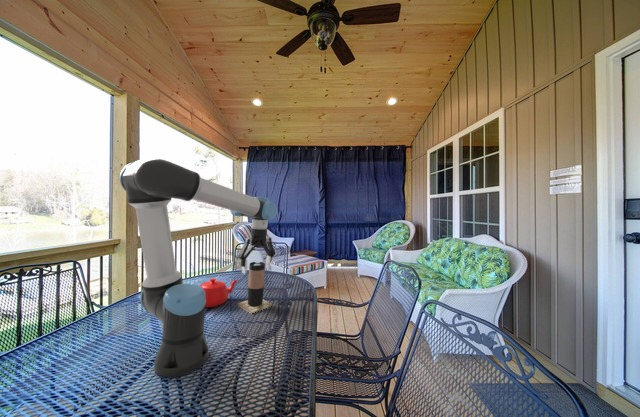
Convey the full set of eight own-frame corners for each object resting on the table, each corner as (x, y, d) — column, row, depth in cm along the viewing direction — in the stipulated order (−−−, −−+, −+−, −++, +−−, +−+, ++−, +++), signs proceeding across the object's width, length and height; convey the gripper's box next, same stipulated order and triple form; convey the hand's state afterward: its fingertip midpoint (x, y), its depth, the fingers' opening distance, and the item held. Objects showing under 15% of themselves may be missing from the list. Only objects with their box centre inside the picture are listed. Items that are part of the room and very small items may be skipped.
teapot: (190, 315, 105) (191, 288, 104) (181, 303, 116) (182, 278, 116) (243, 302, 121) (245, 278, 121) (231, 292, 133) (232, 270, 133)
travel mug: (254, 308, 112) (256, 266, 112) (243, 303, 116) (246, 263, 116) (266, 302, 119) (268, 263, 118) (255, 298, 123) (257, 260, 122)
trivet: (251, 314, 109) (251, 311, 109) (237, 305, 117) (238, 302, 117) (272, 306, 118) (272, 303, 118) (258, 299, 126) (258, 296, 126)
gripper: (240, 229, 104) (237, 277, 105) (283, 228, 123) (280, 268, 124) (232, 227, 109) (228, 273, 110) (275, 226, 128) (272, 265, 128)
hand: (256, 270), depth 117 cm, fingers open, 13 cm apart
